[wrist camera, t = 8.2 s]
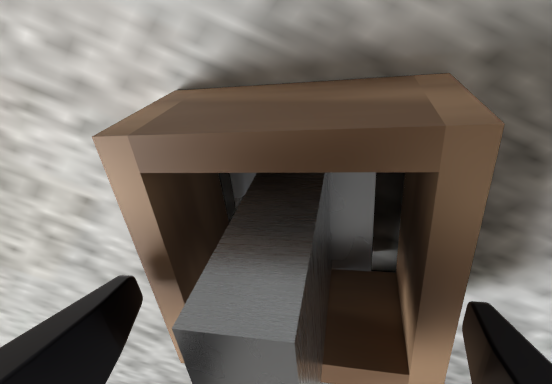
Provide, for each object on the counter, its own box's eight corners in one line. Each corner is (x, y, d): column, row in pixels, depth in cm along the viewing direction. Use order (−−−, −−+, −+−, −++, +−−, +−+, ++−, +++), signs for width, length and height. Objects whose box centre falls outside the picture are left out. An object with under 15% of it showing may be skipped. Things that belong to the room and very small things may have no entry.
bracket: (370, 251, 14) (382, 504, 7) (253, 245, 15) (167, 458, 8) (375, 136, 12) (401, 355, 5) (236, 139, 13) (92, 318, 6)
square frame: (418, 291, 14) (440, 398, 11) (221, 277, 17) (181, 362, 13) (449, 73, 10) (504, 124, 6) (174, 90, 12) (91, 136, 8)
